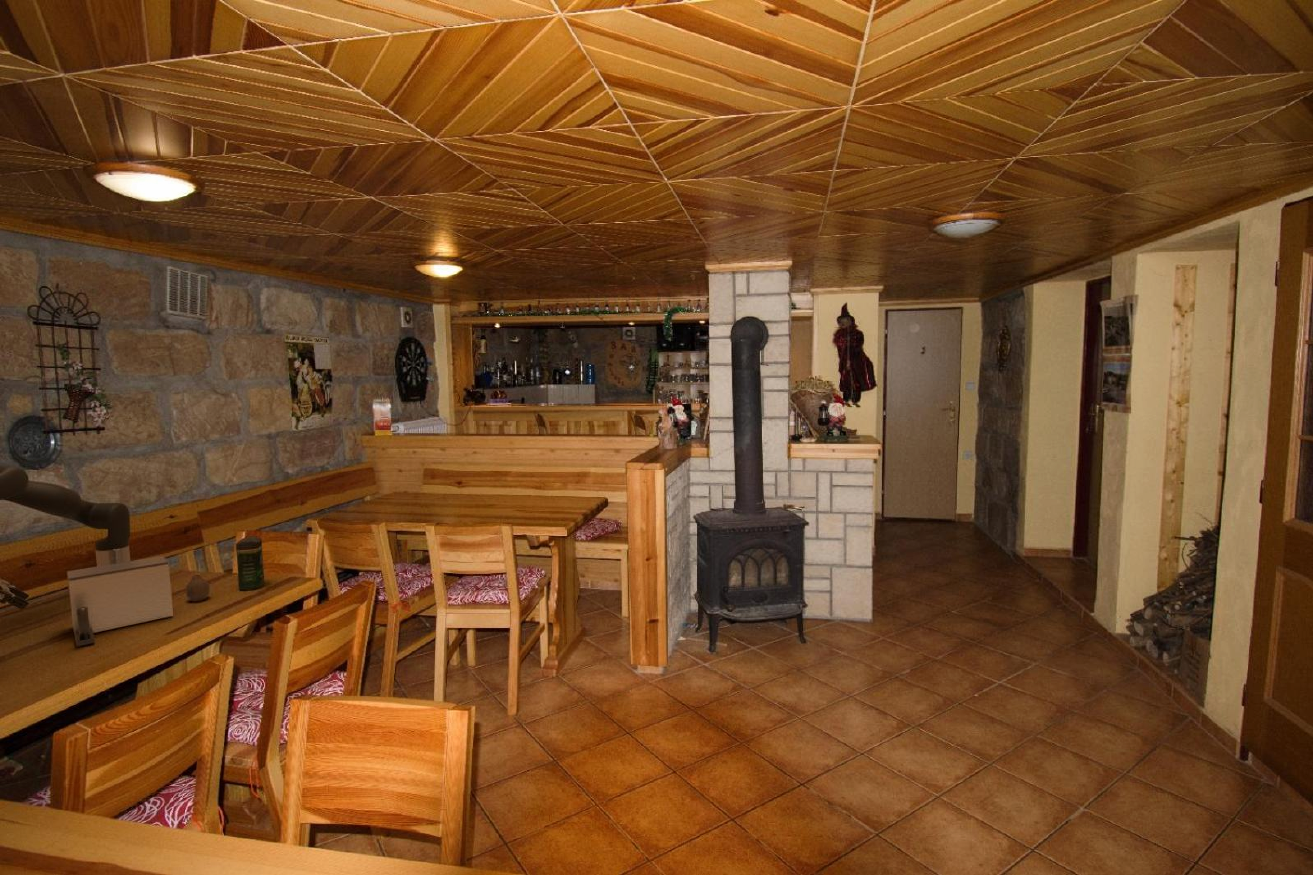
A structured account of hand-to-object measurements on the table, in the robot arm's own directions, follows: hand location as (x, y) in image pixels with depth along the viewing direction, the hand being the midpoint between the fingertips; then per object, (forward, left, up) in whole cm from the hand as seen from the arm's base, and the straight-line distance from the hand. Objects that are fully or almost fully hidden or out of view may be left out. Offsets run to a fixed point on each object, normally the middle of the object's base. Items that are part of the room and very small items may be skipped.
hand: (26, 602), depth 183 cm
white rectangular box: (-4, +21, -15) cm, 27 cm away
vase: (-22, +42, -16) cm, 50 cm away
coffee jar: (-25, +59, -16) cm, 66 cm away
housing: (-15, +21, -16) cm, 31 cm away
